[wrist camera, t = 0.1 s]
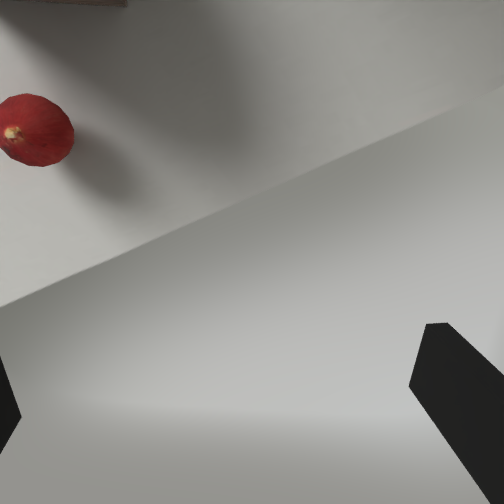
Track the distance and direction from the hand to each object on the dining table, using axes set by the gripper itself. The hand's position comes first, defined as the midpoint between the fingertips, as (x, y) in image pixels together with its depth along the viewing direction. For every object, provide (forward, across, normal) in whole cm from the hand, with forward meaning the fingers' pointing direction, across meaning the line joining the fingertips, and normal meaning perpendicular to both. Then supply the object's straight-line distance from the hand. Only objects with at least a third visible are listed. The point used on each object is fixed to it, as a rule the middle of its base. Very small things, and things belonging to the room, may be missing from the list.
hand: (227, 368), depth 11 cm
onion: (+28, -15, +5) cm, 32 cm away
